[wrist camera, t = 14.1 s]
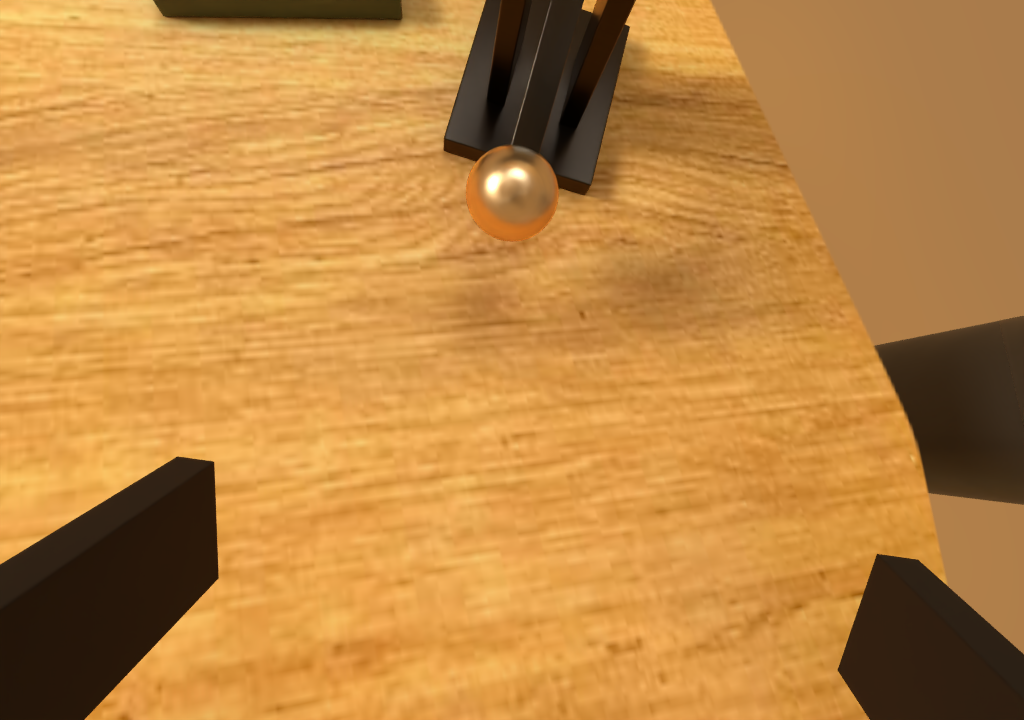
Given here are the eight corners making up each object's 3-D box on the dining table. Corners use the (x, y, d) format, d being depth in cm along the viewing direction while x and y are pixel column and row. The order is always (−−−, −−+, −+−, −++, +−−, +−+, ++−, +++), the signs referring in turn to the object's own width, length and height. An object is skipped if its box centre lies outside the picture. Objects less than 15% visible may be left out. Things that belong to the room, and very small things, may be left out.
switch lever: (539, 248, 22) (546, 257, 19) (459, 224, 22) (451, 229, 18) (657, -140, 18) (694, -219, 15) (562, -178, 18) (576, -267, 14)
